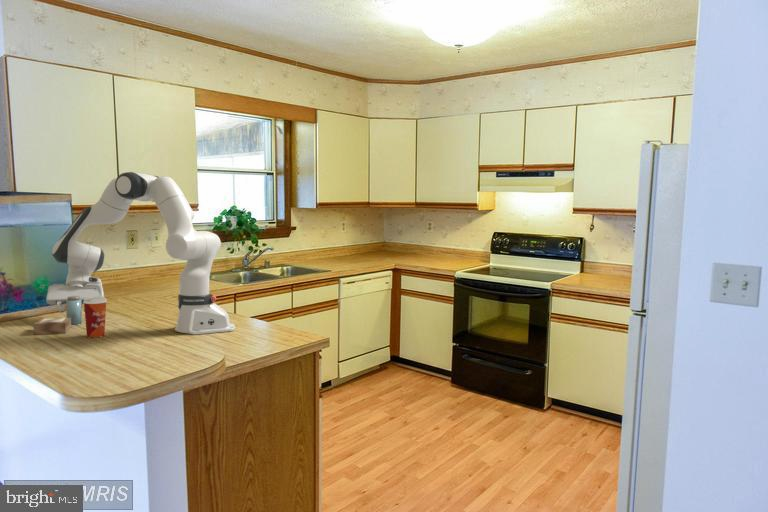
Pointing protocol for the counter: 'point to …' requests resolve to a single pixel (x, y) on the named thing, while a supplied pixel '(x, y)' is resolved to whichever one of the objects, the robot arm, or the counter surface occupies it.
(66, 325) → the base
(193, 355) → the counter surface
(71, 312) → the jar
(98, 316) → the paper cup
